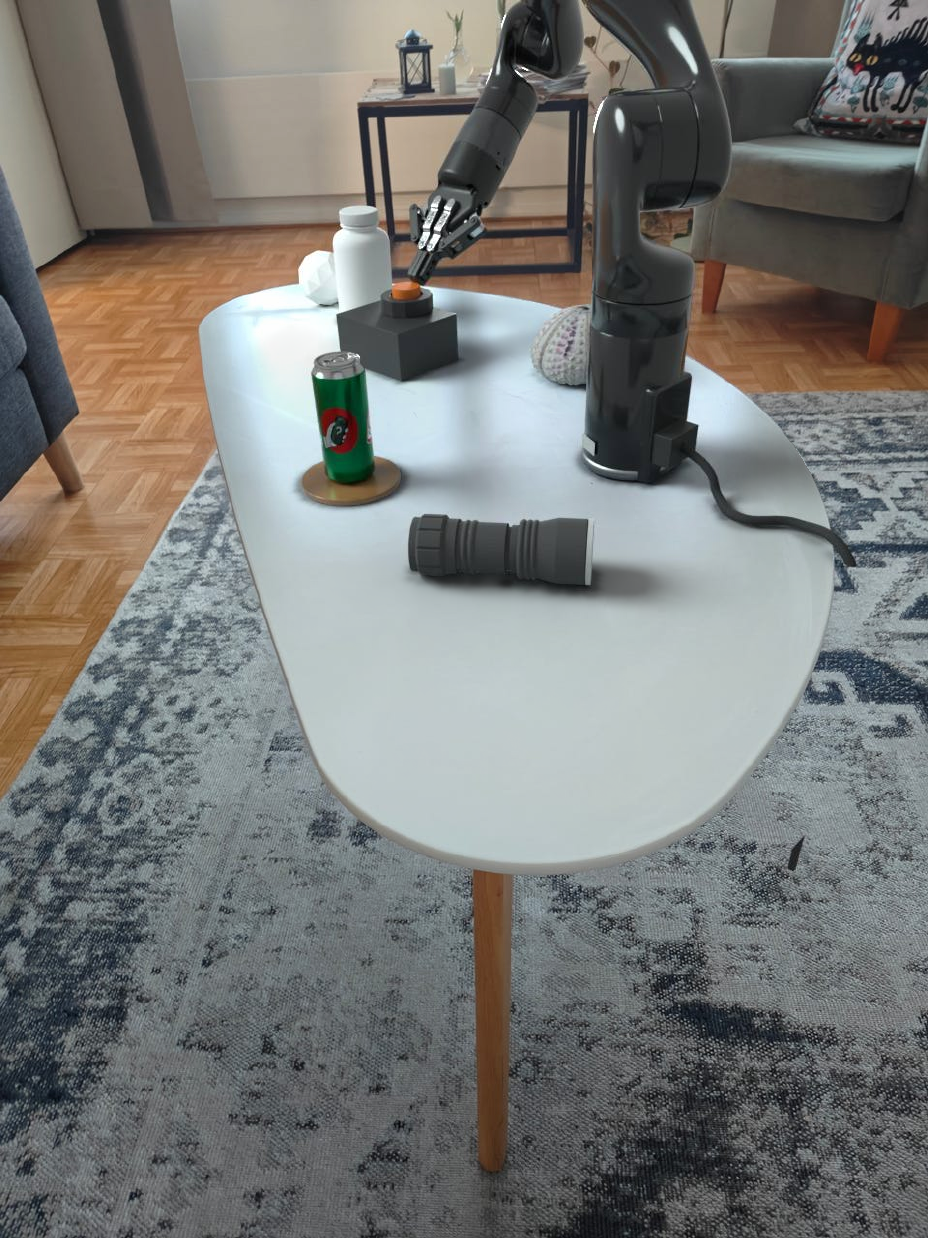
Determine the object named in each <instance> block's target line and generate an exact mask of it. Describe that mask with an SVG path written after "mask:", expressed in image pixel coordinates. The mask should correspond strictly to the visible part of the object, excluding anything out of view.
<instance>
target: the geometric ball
mask: <svg viewBox="0 0 928 1238" xmlns="http://www.w3.org/2000/svg"><path fill="white" fill-rule="evenodd" d="M298 284H299V286H300V288H301V290H302V292H303V295H304V297H305V298H307V299H309V301H312V302H313V303H315V304H317V305H325V306H332V305H334V304H336V303H337V302H338V303H339V301H338V291H337V281H336V271H335V261H334V252H333V251H325V250H318V249H317V250H316V251H313V252H312V253H309V254H308V255H306V256H305V257H304V259H303V261H302V262H301V264H300V265H299V267H298Z"/></svg>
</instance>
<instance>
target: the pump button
mask: <svg viewBox="0 0 928 1238" xmlns="http://www.w3.org/2000/svg"><path fill="white" fill-rule="evenodd" d="M420 287H421V285H420V284H418V283H415V282H412V281H402V282H397V283H394V284H392V296H393V298H395V299H404V300H406V299H415V298H418V297H421V292H420Z"/></svg>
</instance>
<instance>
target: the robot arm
mask: <svg viewBox="0 0 928 1238" xmlns="http://www.w3.org/2000/svg"><path fill="white" fill-rule="evenodd" d="M581 2H582V4H583V5H584V7H585V9H586V10H587V11H588V12H589V14H590V15H591V16H592V17H593V19H594V20H595V22H597V23H598V24H599V25H600V26H601V27H602V28H603V29H604V30H605V31H606V33H608V35H610V37H612V38H613V40H614V41H616V43H618V44H619V46H621V48H623V49H624V50H625V51H626V52H627V53H628V54H629V55H630V56H631V57H632V58H633V59H634V60H635V61H636V62H637V64H639V66H640V67H641V69H642V70H643V71H644V73H645V74H646V76H647V77H648V79H649V81H650V83H651V86H652V87H653V88H640V89H639V88H638V89H627V90H618V91H615V92H612V93H610V94H608V95H607V96H606V97H605V98H604V99H603V101H602V103H601V104H600V106H599V108H598V111H597V114H596V117H595V122H594V126H593V136H592V145H591V146H592V147H591V149H592V150H591V191H592V192H591V197H592V198H591V199H592V201H591V203H592V206H591V214H592V215H591V240H590V241H591V244H590V245H591V247H590V249H591V250H590V251H591V252H590V253H591V292H590V304H591V310H590V328H589V347H588V367H587V385H586V387H585V388H586V389H585V407H584V408H585V409H584V428H583V429H584V430H583V432H584V433H582V436H581V437H582V439H581V441H582V442H581V447H582V451H581V461H582V463H583V465H584V466H585V467H586V468H587V469H588V470H590V471H591V472H593V473H595V474H596V475H598V476H601V477H605V478H609V479H613V480H620V481H638V482H641V483H643V484H649V483H651V482H654V480H656V479H658V478H660V477H661V476H662V475H665V474H667V473H668V472H669V471H671V470H673V469H675V468H676V467H678V466H680V465H682V464H683V461H685V460H686V459H688V458H689V459H690V460H691V461H693V462H694V464H696V465H697V466H698V467H699V468H700V469H701V470H702V471H703V473H704V474H705V476H706V477H707V479H708V482H709V486H710V492H711V494H712V497H713V499H714V500H715V502H716V504H717V506H718V508H719V509H720V511H721V513H722V514H723V515H724V516H725V517H727V518H728V519H731V520H733V521H735V522H737V523H741V524H743V525H750V526H786V527H790V528H794V529H798V530H801V531H805V532H808V533H811V534H814V535H816V536H819V537H821V538H823V539H825V540H826V541H827V542H829V544H831V546H833V548H834V549H835V550H836V551H837V553H838V555H839V556H840V558H841V560H842V562H843V564H844V565H845V566H847V567H849V568H857V567H858V564H857V561H856V559H855V557H854V555H853V553H852V551H851V550H850V548H849V547H848V545H847V543H846V542H845V541H844V540H843V538H841V537H840V536H839V535H838V534H837V533H836V532H835V531H833V530H831V528H828V527H826V526H824V525H822V524H818V523H814V522H811V521H809V520H808V521H807V520H804V519H801V518H798V517H793V516H788V515H751V514H746V513H743V512H741V511H738V510H736V509H734V508H733V507H731V505H730V504H729V503H728V501H727V499H726V498H725V495H724V494H723V492H722V489H721V485H720V479H719V476H718V474H717V472H716V470H715V468H714V467H713V466H712V465H711V463H709V461H708V460H707V459H706V457H704V456H703V455H702V454H700V453H699V452H698V451H696V448H697V442H698V434H699V426H700V425H699V424H698V423H695V422H691V421H688V415H689V408H690V407H689V406H690V401H691V400H690V399H691V392H692V391H691V390H692V383H693V375H692V373H690V372H688V371H685V368H686V367H685V366H686V357H687V349H688V341H689V332H690V331H689V330H690V323H691V314H692V306H693V296H694V289H695V281H696V263H695V260H694V259H693V257H692V256H691V255H689V254H688V253H686V252H685V251H683V250H681V249H678V248H676V247H673V246H670V245H666V244H663V243H659V242H656V241H653V240H652V239H650V238H648V237H646V236H645V235H644V234H642V229H641V213H649V212H662V211H675V210H685V209H692V208H698V207H702V206H705V205H709V204H710V203H712V202H714V201H716V199H718V198H719V197H720V196H721V195H722V193H723V191H724V190H725V188H726V187H727V184H728V181H729V179H730V173H731V170H732V169H731V168H732V161H733V160H732V159H733V138H732V128H731V123H730V118H729V113H728V112H729V111H728V109H727V105H726V101H725V98H724V93H723V91H722V88H721V86H720V85H721V84H720V82H719V79H718V76H717V73H716V71H715V67H714V64H713V63H712V59H711V56H710V55H709V54H710V53H709V51H708V48H707V46H706V43H705V41H704V38H703V35H702V31H701V29H700V25H699V23H698V20H697V16H696V13H695V10H694V6H693V3H692V0H581ZM581 11H582V10H581V7H580V1H579V0H519V1H517V2H516V3H514V4H513V5H511V7H510V8H509V9H508V10H507V11H506V13H505V15H504V17H503V20H502V23H501V27H500V31H499V37H498V41H497V47H496V51H495V55H494V59H493V62H492V66H491V69H490V72H489V76H488V78H487V81H486V84H485V86H484V87H483V89H482V92H481V93H480V95H479V97H478V99H477V101H476V103H475V105H474V107H473V109H472V111H471V112H470V114H469V115H468V117H467V118H466V120H465V121H464V122H463V124H462V126H461V127H460V129H459V131H458V133H457V135H456V137H455V139H454V141H453V143H452V144H451V146H450V149H449V150H448V153H447V155H446V156H445V158H444V160H443V162H442V164H441V166H440V168H439V169H438V171H437V187H436V188H435V190H434V191H433V192H432V193H431V194H430V195H429V196H428V199H427V202H426V203H424V204H422V205H420V206H418V204H416V203H412V204H411V205H409V208H408V212H409V215H408V216H409V232H410V241H411V242H412V244H414V246H415V247H416V248H417V251H416V254H415V256H414V257H413V259H412V262H410V263H411V264H410V265H409V268H408V270H407V278H408V279H409V280H410V282H415V283H418V284H420V287H424V286H426V284H427V283H428V282H429V280H430V279H431V277H432V276H433V273H434V272H435V269H436V268H437V266H438V265H439V263H440V262H443V261H444V259H446V258H447V259H449V260H455V259H456V258H458V256H460V255H461V254H462V253H464V252H465V251H466V250H467V249H470V247H472V246H473V245H474V244H476V243H477V242H478V241H480V240H481V239H482V238H484V237H485V236H486V235H487V233H488V232H489V231H488V230H489V229H488V228H487V227H486V225H485V224H484V223H483V221H482V219H481V216H482V214H483V210H484V209H486V208H488V207H489V206H490V204H492V203H491V202H492V201H493V199H494V197H495V195H496V193H497V191H498V189H499V187H500V185H501V184H502V182H503V180H504V178H505V176H506V174H507V173H508V171H509V168H510V166H511V164H512V163H513V161H514V159H515V156H516V153H517V150H518V147H519V145H520V143H521V141H522V139H523V138H524V135H525V133H526V131H527V129H528V128H529V125H530V123H531V122H532V120H533V118H534V116H535V115H536V113H537V109H538V107H539V96H538V95H539V94H538V93H537V91H536V89H535V88H534V87H533V85H532V83H530V82H529V81H528V80H527V79H526V78H524V77H523V76H522V75H521V74H520V73H519V72H518V71H516V70H517V69H518V67H519V68H522V69H524V70H526V71H528V72H531V73H533V74H535V75H537V76H540V77H542V78H544V79H546V80H548V81H551V82H552V81H553V82H561V81H564V80H566V79H567V78H569V77H570V76H571V75H572V74H573V73H574V72H575V70H576V69H577V67H579V64H580V61H581V58H582V54H583V49H584V42H585V33H584V32H585V31H584V23H583V17H582V12H581ZM805 838H806V834H803V836H802V837H801V838H800V840H798V842H797V843H796V844H795V845H794V846H793V848H792V849H791V851H790V854H789V858H788V862H787V866H786V868H787V867H788V869H789V870H792V871H794V870H795V869H796V870H797V866H798V862H799V858H800V854H801V851H802V848H803V844H804V840H805ZM796 870H795V871H796Z"/></svg>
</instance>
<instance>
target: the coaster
mask: <svg viewBox="0 0 928 1238" xmlns="http://www.w3.org/2000/svg"><path fill="white" fill-rule="evenodd" d="M374 461H375V471H374V472H373V474H372V475H371V476H370V477H369V478H368V479H367V480H365V481H363V482H360V483H356V484H339V483H336V482H334V481H332V480H331V479H329V478H328V477H327V476H326V474H325V469H324V462H323V460H322V461H319V462H318V463H315V464H313V465H312V466H311V467H309V468H308V469H307V470H306V471H305V472H304V473H303V475H302V477H301V480H300V481H301V483H300V484H301V489H302V492H303V494H305V496H307V498H309V499H311V500H313V501H315V502H316V503H319V504H324V505H329V506H337V507H338V506H339V507H348V506H349V507H350V506H359V505H360V506H361V505H366V504H370V503H373V502H376V501H379V500H381V499H383V498H385V497H388V496H389V495H391V494H393V493H394V492H395V491H396V490H397V489H398V487H399V486H400V485H401V481H402V473H401V470H400V468H399V467H398V465H397V464H396V463H395V462H393V461H391V460H390V459H387V458H385V457H381V456H378V455H374Z"/></svg>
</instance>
